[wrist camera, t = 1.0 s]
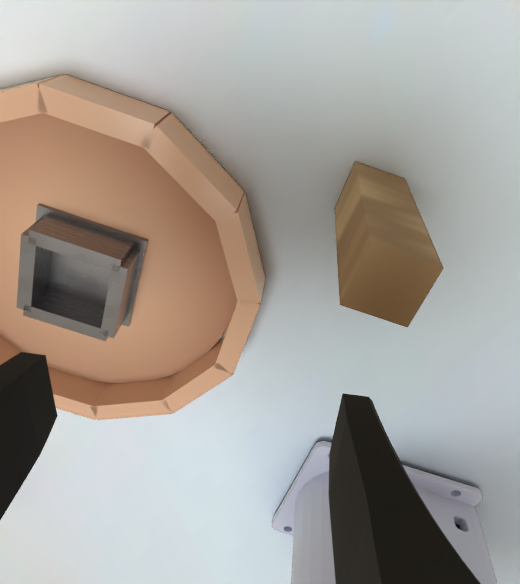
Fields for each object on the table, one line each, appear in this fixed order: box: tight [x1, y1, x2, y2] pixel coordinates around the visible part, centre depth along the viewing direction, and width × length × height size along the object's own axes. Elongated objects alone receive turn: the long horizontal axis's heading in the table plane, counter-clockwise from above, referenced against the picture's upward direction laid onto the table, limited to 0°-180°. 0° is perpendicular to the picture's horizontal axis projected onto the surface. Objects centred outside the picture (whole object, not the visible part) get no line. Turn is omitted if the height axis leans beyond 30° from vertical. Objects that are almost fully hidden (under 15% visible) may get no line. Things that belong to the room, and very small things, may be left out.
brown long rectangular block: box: [335, 161, 443, 327], centre depth 16 cm, size 2×2×7 cm
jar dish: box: [0, 74, 265, 420], centre depth 21 cm, size 15×15×2 cm
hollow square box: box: [16, 203, 148, 341], centre depth 21 cm, size 5×5×2 cm
